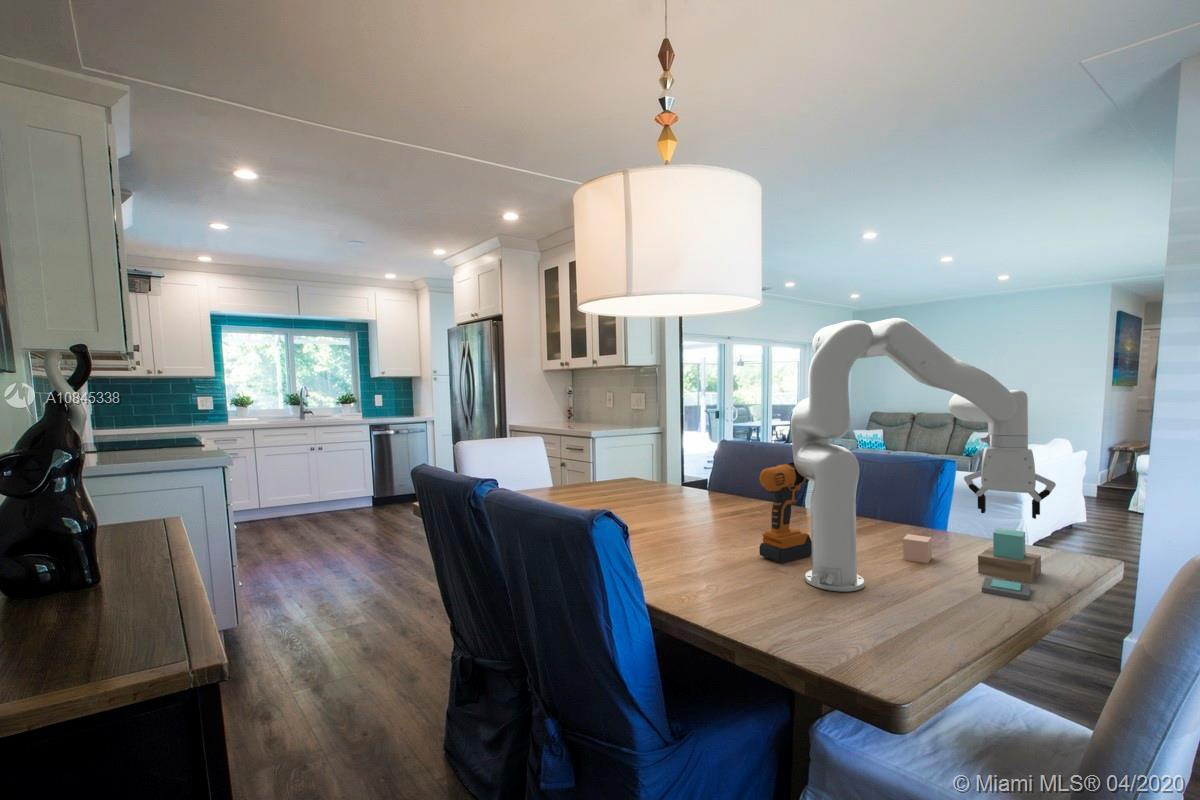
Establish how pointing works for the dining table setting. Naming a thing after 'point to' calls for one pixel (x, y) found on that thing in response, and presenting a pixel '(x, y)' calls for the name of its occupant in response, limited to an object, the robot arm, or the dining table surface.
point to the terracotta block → (917, 548)
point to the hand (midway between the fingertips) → (1008, 514)
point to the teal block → (1009, 544)
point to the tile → (1006, 588)
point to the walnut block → (1010, 566)
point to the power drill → (783, 516)
